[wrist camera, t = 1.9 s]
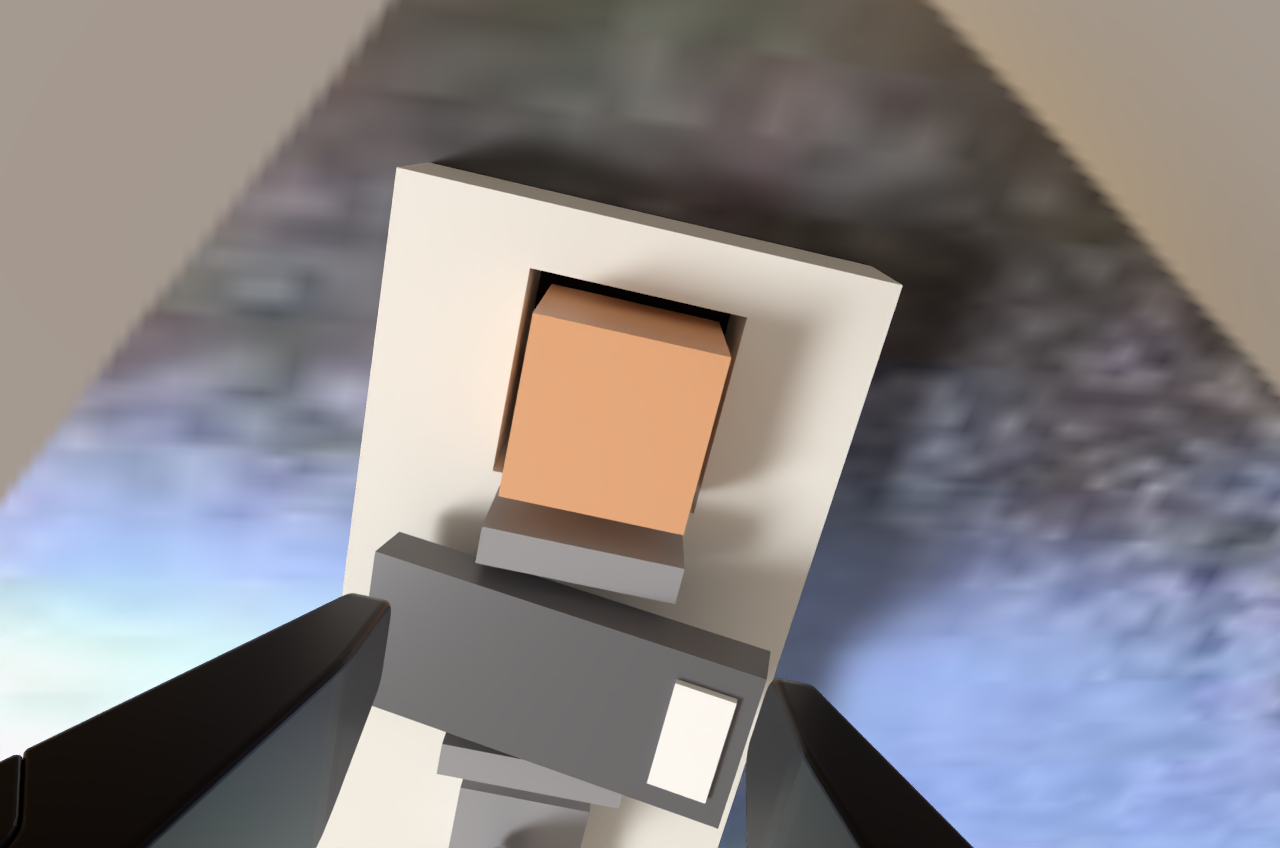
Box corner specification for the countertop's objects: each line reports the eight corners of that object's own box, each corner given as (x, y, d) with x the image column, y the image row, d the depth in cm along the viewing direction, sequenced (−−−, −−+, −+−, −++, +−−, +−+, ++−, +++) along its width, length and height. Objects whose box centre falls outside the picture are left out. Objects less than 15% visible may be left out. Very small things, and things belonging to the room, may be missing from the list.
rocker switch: (770, 651, 17) (766, 683, 16) (724, 794, 18) (717, 833, 17) (399, 531, 18) (371, 554, 17) (378, 673, 19) (350, 704, 18)
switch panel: (871, 266, 19) (934, 305, 15) (681, 871, 25) (687, 1025, 21) (429, 162, 18) (362, 172, 14) (339, 807, 24) (272, 951, 20)
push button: (719, 321, 18) (731, 357, 15) (678, 475, 19) (683, 535, 16) (551, 283, 18) (532, 312, 15) (521, 441, 19) (498, 495, 16)
